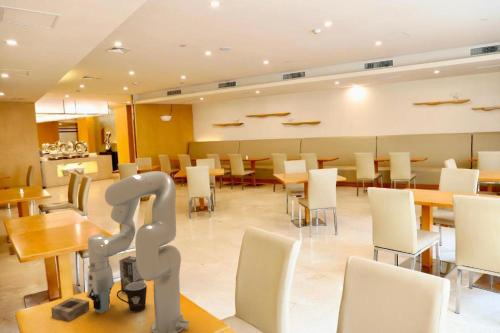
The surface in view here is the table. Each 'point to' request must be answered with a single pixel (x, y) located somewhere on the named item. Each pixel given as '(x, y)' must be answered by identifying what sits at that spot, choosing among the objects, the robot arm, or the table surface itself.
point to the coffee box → (128, 272)
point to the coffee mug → (135, 296)
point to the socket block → (70, 309)
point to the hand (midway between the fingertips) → (101, 305)
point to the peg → (103, 302)
